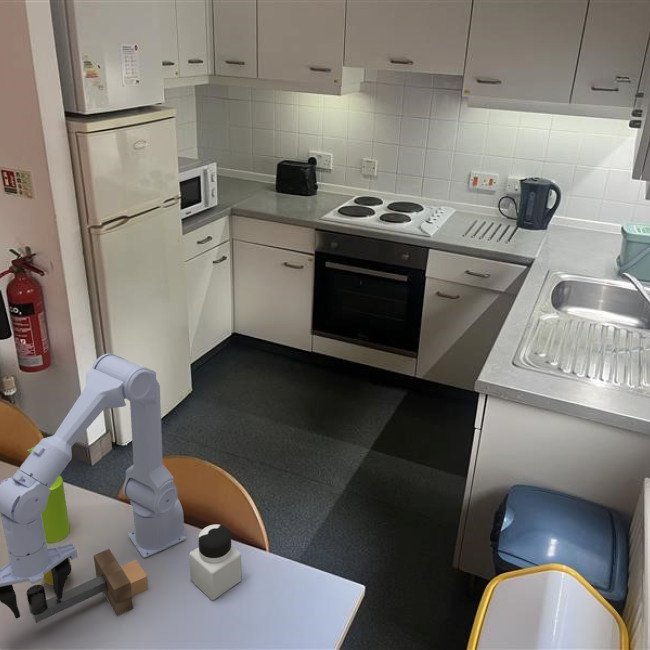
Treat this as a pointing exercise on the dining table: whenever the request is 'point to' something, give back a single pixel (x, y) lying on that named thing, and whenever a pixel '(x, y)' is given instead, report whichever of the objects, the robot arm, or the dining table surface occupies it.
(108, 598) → the bracket
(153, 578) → the dining table surface
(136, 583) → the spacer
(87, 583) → the shaft
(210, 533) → the medicine bottle
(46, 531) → the soap dispenser
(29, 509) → the robot arm
